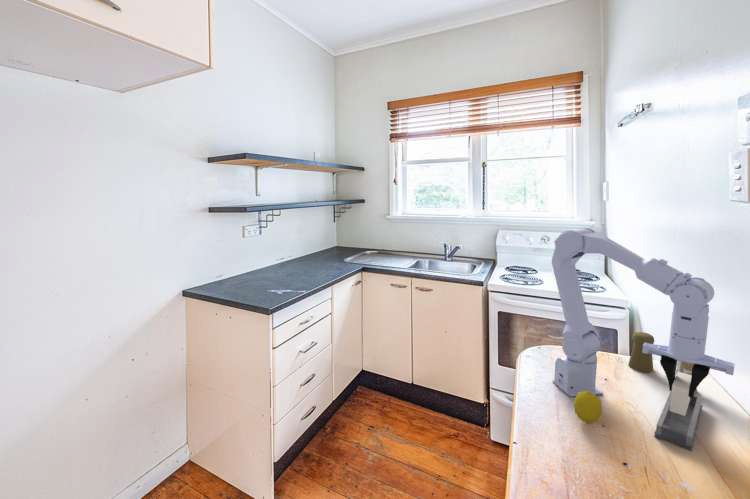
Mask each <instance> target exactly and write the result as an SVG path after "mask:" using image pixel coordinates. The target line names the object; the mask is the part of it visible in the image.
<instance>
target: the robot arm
mask: <svg viewBox="0 0 750 499" xmlns="http://www.w3.org/2000/svg"><path fill="white" fill-rule="evenodd" d="M553 242H554V251H553V254H552V258H551V264H552V270H553V274H554V277H555V281H556V286H557V290H558V294H559V299H560V303H561V308H562V312H563V316H564V320H565V321H564V322H565V326H564V328H563V330H562V337H563V340H562V344H561V348H562V352H563V354H565V355H563V356H562V357H561V356H560V357H558V358H556V359H555V362H554V378H553V379H552V382H553V383H555V385H557V386H558V387H559V388H560V389H561V390H562V392H564V393H565V394H566V395H567V396H569V397H576V396H577V394H579V393H580V392H583V391H590V392H591V393H593V394H595V395H596V396H597V395H603V394H604V392H603V390H601V389H600V388H598V387H597V386H596V382H597V381H596V380H597V367H598V364H597V363H598V357H597V354H598V353H597V352H599V351H600V350H601V349H602V347H603V341H602V338H601V336H600V335H599V334H598V333H597V331H596V327H595V325H593V323H591V322H590V321H589V318H588V313H587V310H586V305H585V301H584V297H583V293H582V289H581V284H580V280H579V276H578V271H577V269H576V264H577V263H578V262H579V261H580V259H581V258H582V257H583V256H584V255H586V254H600V255H603V256H605V257H607V258H608V259H611V260H613V261H615V262H617V263H618V264H621V265H622V266H624V267H626V268H629V269H631V271H634V273H635V276H636V278H637V279H638V280H640V281H641V282H643V283H645V285H648V286H650V287H652V288H654V289H655V290H657V291H659V292H660V293H662V294H664V295H665V296H668V297H669V299H670V301H671V303H672V304H673V307H672V308H673V309H672V311H671V319H670V320H671V321H670V331H669V332H670V333H669V340H668V341H669V342H668V345H661V344H655V343H654V344H650V343H644V344H643V350H642V353H646V354H648V353H650V354H652V355H655V356H659V357H660V361H659V362H660V366H661V367H662V369H663V371H664V373H665V374H664V375H665V376H666V379H667V382H668V388H669V392H670V391H672V385H673V382H674V380H675V377H676V369H677V360H678V361H682V362H686V363H690V364H694V366H693V368H692V377H691V386H690V390H689V397H692V398H693V396H694V395H695V393H694V392H695V390H696V388H697V389H698V386H699V385H700V384H701V383H702V382H703V380H705V379H706V378H707V377H708V375H709V374H710V370H714V371H719V372H723V373H725V374H726V375H729V376H734V372H735V371H734V370H735V365H736V364H735V363H734V362H730V361H727V360H723V359H720V358H717V357H714V356H710V355H708V354H706V344H707V335H708V328H709V319H710V317H709V313H710V304H709V303H710V302H711V301H712V300H713V299H714V298H715V297H714V296H715V289H714V287H713V286H712V285H711V283H709V282H708V281H706V280H705V279H704V278H701V277H694V276H693V275H692V274H690V273H689V272H686V273H684V272H682V271H681V270H678V269H677V268H674V267H673V266H670V265H669V264H668V262H669V261H667V260H665V259H663V258H660V259H659V260H658V258H655V257H654V258H648V259H645V258H643V257H642V256H640V255H639V254H637V253H635V252H634V251H631V250H630V249H628V248H626V247H625V246H622V245H621V244H619V243H617V242H616V241H615V240H613V239H610V238H609V237H608V236H606V235H605V234H603V233H601V232H598V231H595V230H594V229H592V228H590V227H582V228H579V229H573V230H572V229H571V230H566V231H563V232H561V234H559V236H557V238H556V239H555V240H554V241H553ZM692 276H693V277H692Z"/></svg>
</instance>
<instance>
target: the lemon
mask: <svg viewBox="0 0 750 499" xmlns="http://www.w3.org/2000/svg"><path fill="white" fill-rule="evenodd" d="M573 410H574V413H575V414H576V416H577V418H579V419H580V420H581V421H582V422H584V423H585V424H595V423H597V422H598V421H599V420H600V419H601V418H602V414H603V407H602V402H601V400H600V398H599V397H598V396H597V395H595V394H593V393H591V392H590V391H583V392H580V393H579V394H577V396H575V398H574V402H573Z"/></svg>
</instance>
